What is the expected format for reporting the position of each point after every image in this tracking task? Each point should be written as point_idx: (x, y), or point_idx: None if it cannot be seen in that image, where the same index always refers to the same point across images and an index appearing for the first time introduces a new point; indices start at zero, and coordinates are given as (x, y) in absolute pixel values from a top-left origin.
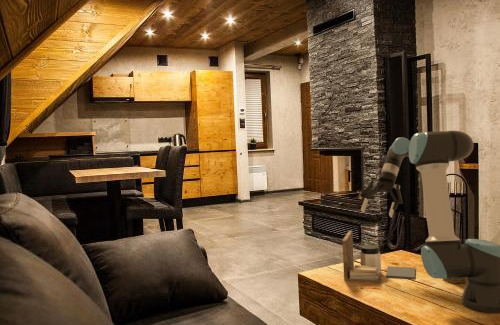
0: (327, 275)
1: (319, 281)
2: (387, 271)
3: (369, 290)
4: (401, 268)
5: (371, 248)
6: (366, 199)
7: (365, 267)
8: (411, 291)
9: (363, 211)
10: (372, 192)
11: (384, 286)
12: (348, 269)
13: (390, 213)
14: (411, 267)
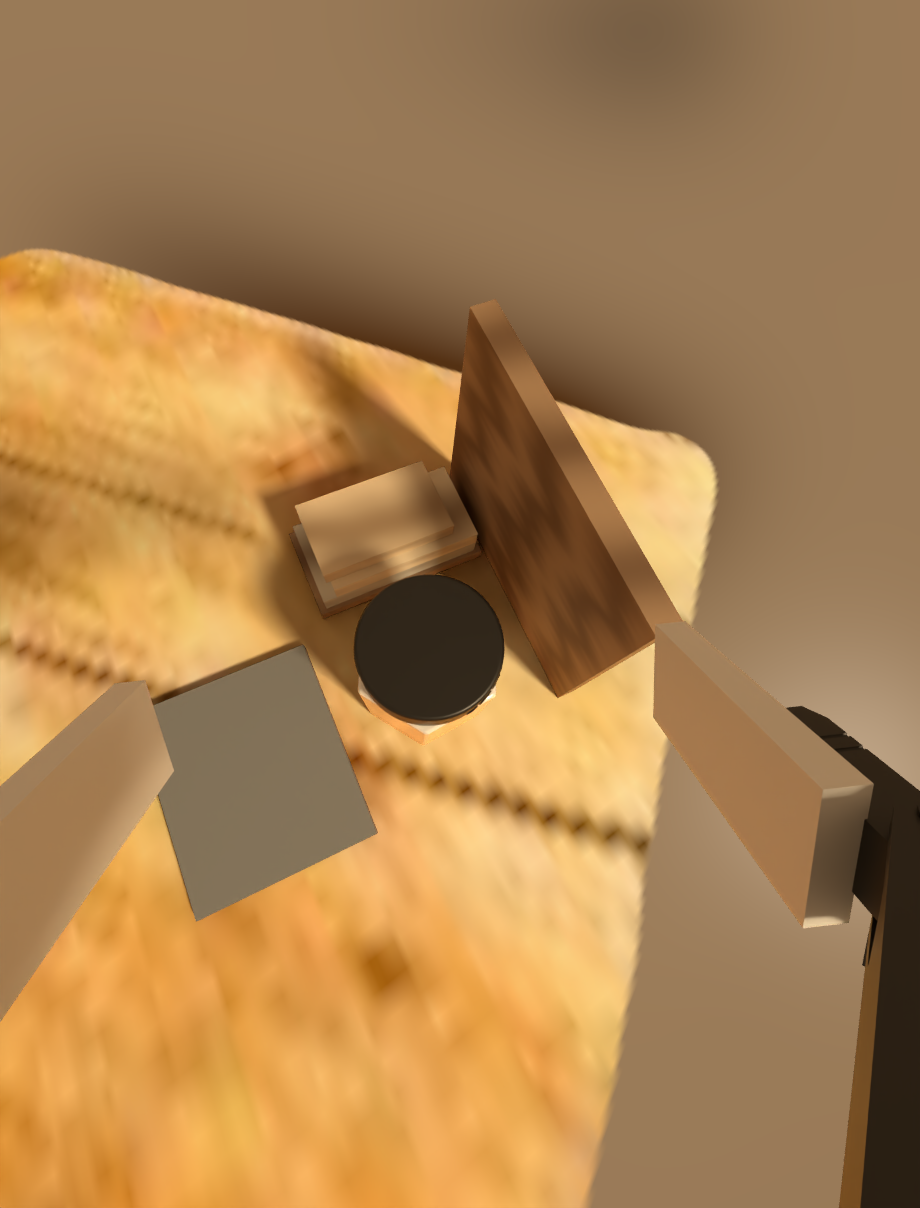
0: None
1: None
2: (327, 720)
3: (289, 428)
4: (274, 839)
5: (388, 597)
6: (797, 800)
7: (377, 519)
8: (97, 519)
9: (654, 686)
10: (868, 1101)
11: (248, 511)
12: (472, 494)
13: (104, 695)
14: (220, 908)
